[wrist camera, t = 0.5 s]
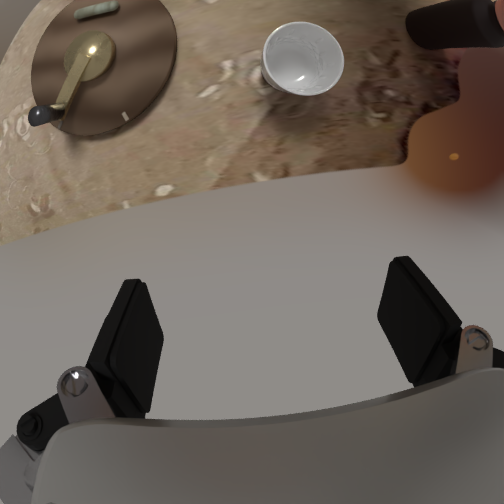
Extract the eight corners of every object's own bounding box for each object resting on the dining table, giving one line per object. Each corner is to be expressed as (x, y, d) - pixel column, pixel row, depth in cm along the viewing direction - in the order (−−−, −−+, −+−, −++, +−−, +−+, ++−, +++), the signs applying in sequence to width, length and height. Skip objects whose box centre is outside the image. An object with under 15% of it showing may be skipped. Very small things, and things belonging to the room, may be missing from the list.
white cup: (281, 107, 33) (296, 110, 25) (242, 61, 30) (245, 48, 21) (328, 76, 31) (358, 71, 23) (292, 29, 28) (311, 9, 19)
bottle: (409, 2, 24) (503, -22, 7) (442, 26, 25) (538, 21, 8) (400, 34, 27) (501, 19, 10) (434, 57, 29) (535, 63, 11)
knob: (86, 26, 23) (59, 17, 17) (125, 41, 25) (102, 31, 19) (45, 109, 28) (14, 116, 22) (80, 127, 30) (51, 136, 24)
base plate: (46, 10, 21) (33, 7, 18) (185, -21, 23) (180, -31, 20) (39, 141, 32) (26, 146, 29) (172, 128, 34) (166, 131, 31)
